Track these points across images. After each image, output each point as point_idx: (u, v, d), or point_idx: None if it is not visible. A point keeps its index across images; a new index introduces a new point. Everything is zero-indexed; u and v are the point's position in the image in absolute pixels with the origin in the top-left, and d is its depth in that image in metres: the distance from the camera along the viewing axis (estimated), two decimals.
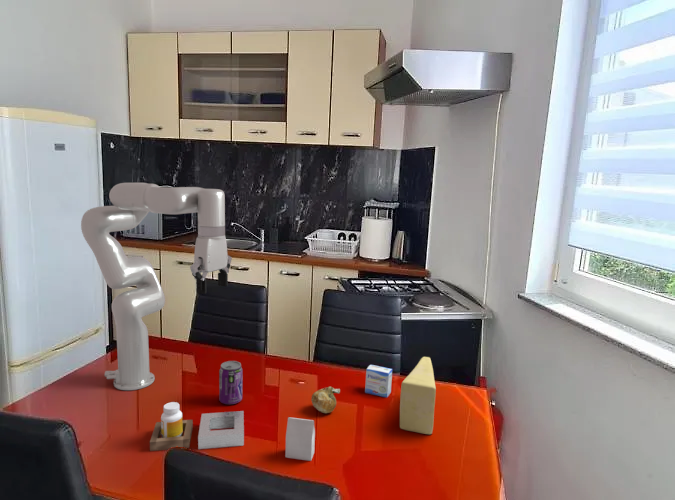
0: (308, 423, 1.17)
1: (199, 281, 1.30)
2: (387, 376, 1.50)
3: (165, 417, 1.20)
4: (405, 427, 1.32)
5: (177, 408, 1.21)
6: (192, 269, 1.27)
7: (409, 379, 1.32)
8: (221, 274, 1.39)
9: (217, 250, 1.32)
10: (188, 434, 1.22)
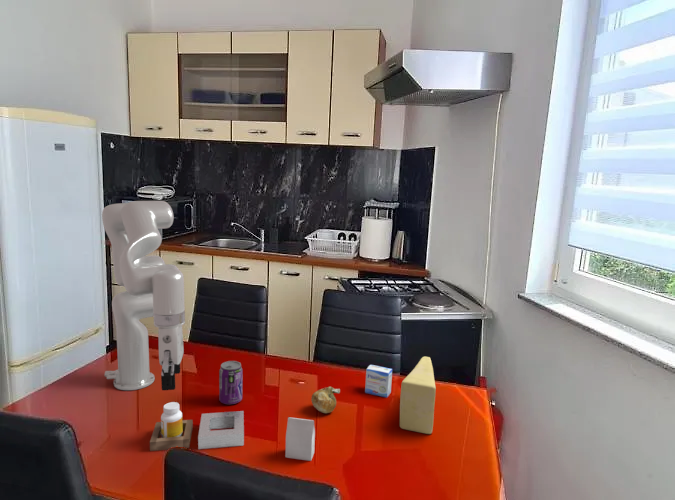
0: (308, 423, 1.17)
1: None
2: (387, 376, 1.50)
3: (165, 417, 1.20)
4: (405, 426, 1.32)
5: (177, 408, 1.21)
6: None
7: (409, 379, 1.32)
8: None
9: None
10: (188, 434, 1.22)
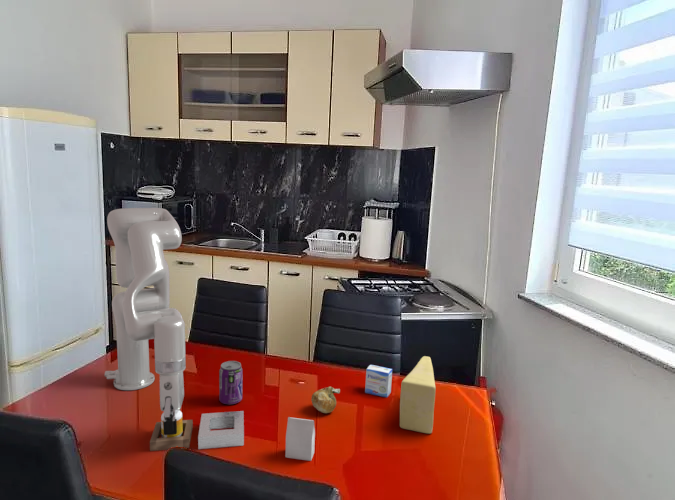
0: (308, 423, 1.17)
1: None
2: (387, 376, 1.50)
3: None
4: (405, 426, 1.32)
5: None
6: None
7: (409, 378, 1.32)
8: None
9: None
10: (188, 434, 1.22)
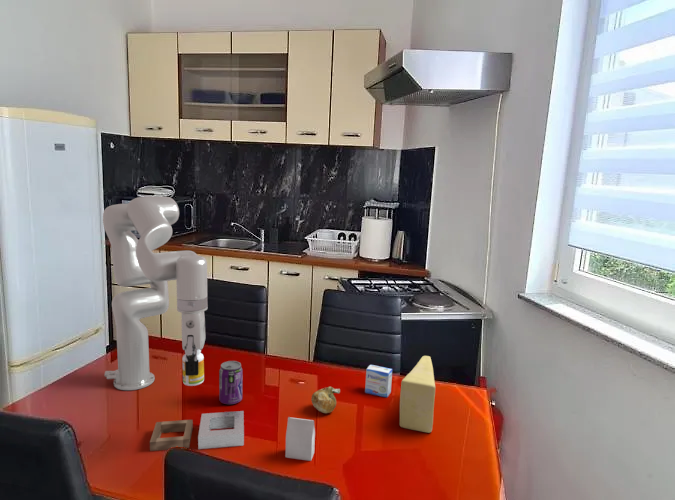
0: (308, 423, 1.17)
1: None
2: (387, 376, 1.50)
3: None
4: (405, 425, 1.33)
5: (199, 349, 1.20)
6: None
7: (409, 378, 1.33)
8: None
9: None
10: (188, 434, 1.22)
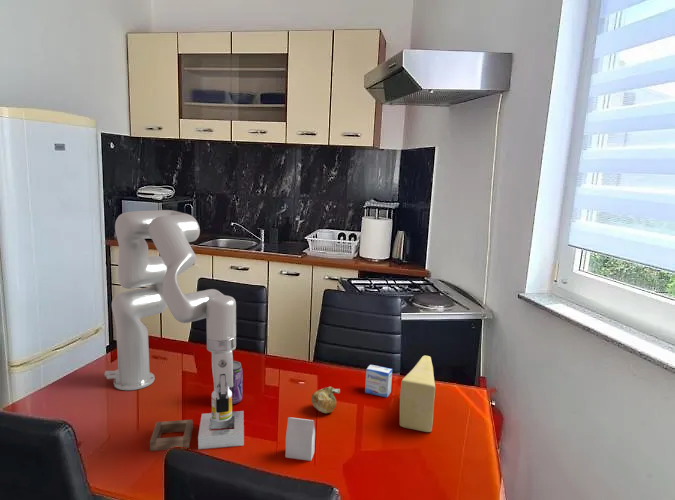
0: (308, 423, 1.17)
1: None
2: (387, 376, 1.50)
3: (216, 395, 1.22)
4: (405, 425, 1.33)
5: None
6: None
7: (409, 377, 1.33)
8: None
9: None
10: (188, 434, 1.22)
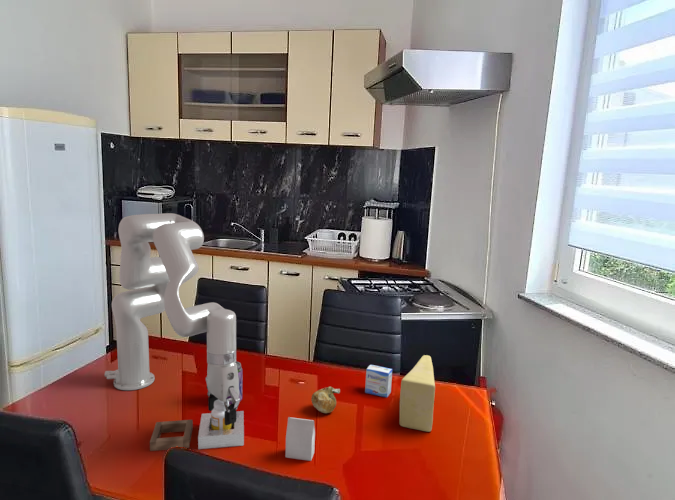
0: (308, 423, 1.17)
1: None
2: (387, 376, 1.50)
3: (220, 413, 1.23)
4: (405, 424, 1.33)
5: (228, 402, 1.25)
6: None
7: (409, 377, 1.33)
8: None
9: (212, 375, 1.22)
10: (188, 434, 1.22)
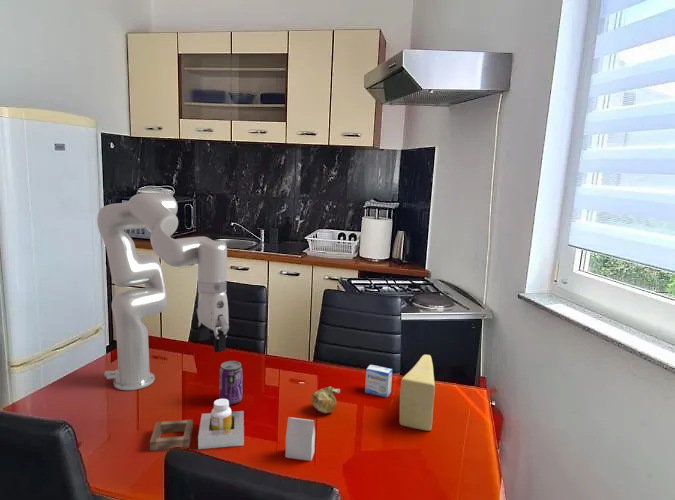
0: (308, 423, 1.17)
1: None
2: (387, 376, 1.50)
3: (219, 413, 1.23)
4: (404, 423, 1.34)
5: (228, 402, 1.25)
6: None
7: (409, 376, 1.34)
8: None
9: (202, 305, 1.26)
10: (188, 434, 1.22)
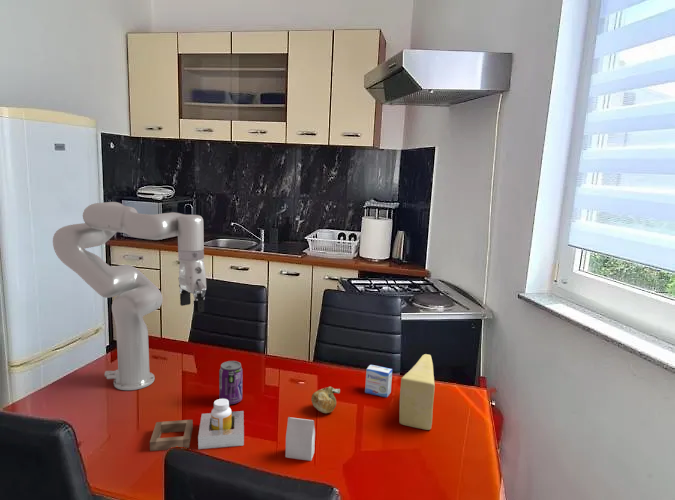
0: (308, 423, 1.17)
1: None
2: (387, 376, 1.50)
3: (220, 413, 1.23)
4: (404, 422, 1.34)
5: (228, 402, 1.25)
6: None
7: (409, 375, 1.34)
8: None
9: (182, 271, 1.41)
10: (188, 434, 1.22)
